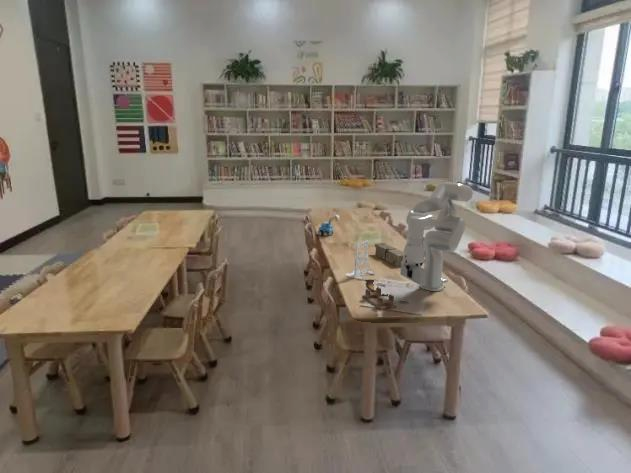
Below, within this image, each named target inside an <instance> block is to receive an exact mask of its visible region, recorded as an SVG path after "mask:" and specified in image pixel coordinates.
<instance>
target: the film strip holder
mask: <svg viewBox="0 0 631 473" xmlns="http://www.w3.org/2000/svg"><path fill="white" fill-rule="evenodd" d="M362 248H366V250H365V252H364V253H361V254H359V251H360V249H362ZM368 253H369V240H368V239H367V240H365V241H363V242H360V243H358V244H355V248H354V257H355V258H354V262H353V263H354V264H353V266H354V269H353V270H352V271H351V272H348V273H345V274H344V275H345V276H344V277H348V278H353V279H355V280H359V281H361V280H362V281H365V280H366V278H365V276H364V275H365V274H369V275H372V276H376V273H374V271H373V267H372V265H371V262H370V259H369V255H368ZM362 264H365V266H364V269H362V268H361V267H360V266H361V265H362ZM368 265H369V267H370V270H371V271H370V270H368ZM358 268H359V269H358Z"/></svg>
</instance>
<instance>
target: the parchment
mask: <svg viewBox="0 0 631 473" xmlns="http://www.w3.org/2000/svg"><path fill="white" fill-rule="evenodd" d="M374 280H375V279H365V280H364V281H365V284H366V285H365V286H367V288H368V289H369V290H370V291H372V292H376V290H374V284H373V282H374Z"/></svg>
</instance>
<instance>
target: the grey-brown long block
mask: <svg viewBox="0 0 631 473" xmlns="http://www.w3.org/2000/svg"><path fill="white" fill-rule="evenodd" d="M374 247H375V255H376V256H377V257H378V258H380V259H383V260H385V261H386V262H388V263H390V264H392V265H394V266H396V267H397V268H401V262H402V261H403V254H404V250H403V251H402V250H400V249H398V248H396V247H394V246H393V245H390V244H388V243H387V242H377V243H374Z"/></svg>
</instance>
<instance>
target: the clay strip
mask: <svg viewBox="0 0 631 473" xmlns="http://www.w3.org/2000/svg"><path fill="white" fill-rule="evenodd" d="M402 263H403V261H402V262H401V267H400V271H399V272H400V273H399V274H400V275H401V276H402V277H404V278H406V279H408V280H410V281H412V282H413V283H416V284H418V285H419V286H420V285H422V284H426V273H427V270H425V269H424V267H422V266H421V267H419V266H417V265H415V264H412V269H411V270H412V278H409V277H408V276H407V269H406V267H404V266H403V265H402ZM406 265H407V263H406ZM409 266H410V265H409Z"/></svg>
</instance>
